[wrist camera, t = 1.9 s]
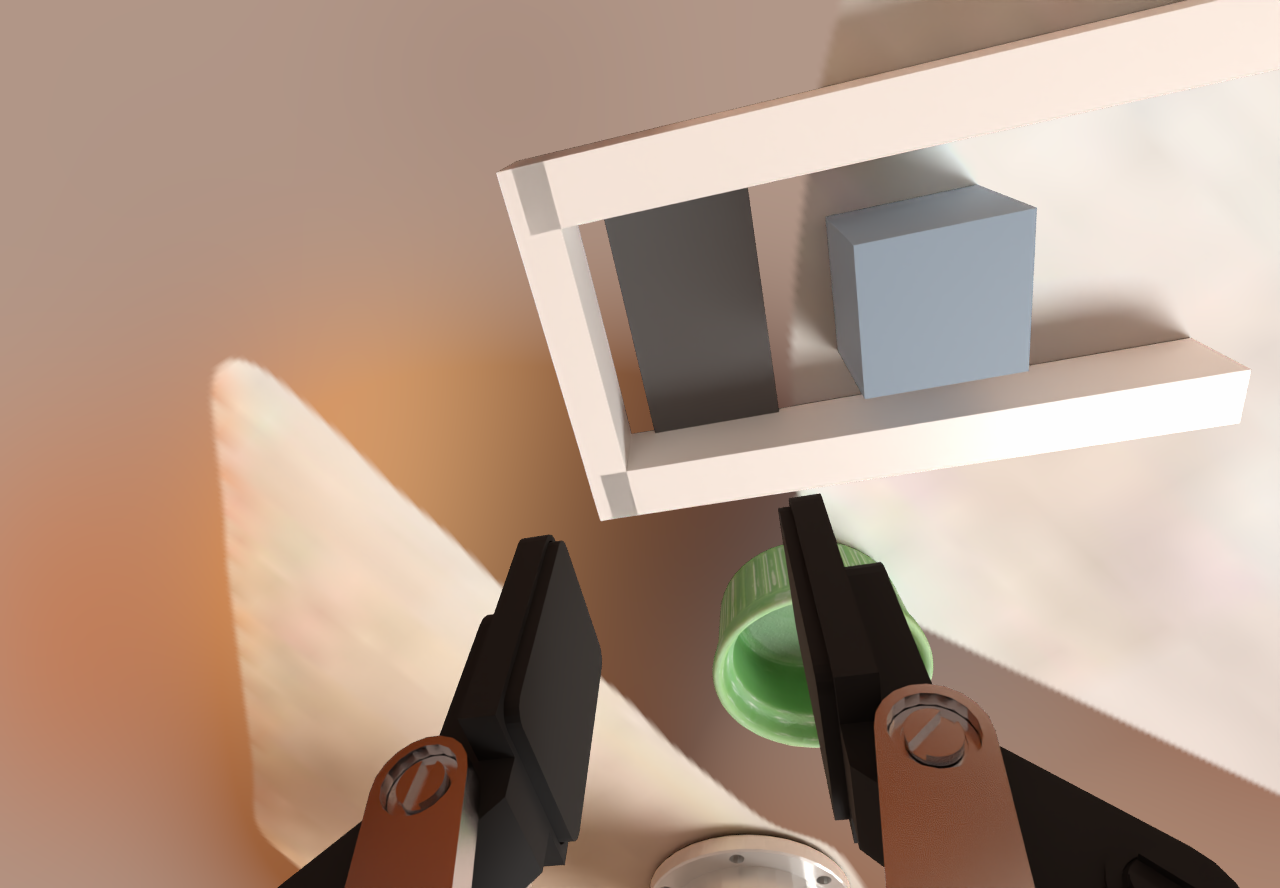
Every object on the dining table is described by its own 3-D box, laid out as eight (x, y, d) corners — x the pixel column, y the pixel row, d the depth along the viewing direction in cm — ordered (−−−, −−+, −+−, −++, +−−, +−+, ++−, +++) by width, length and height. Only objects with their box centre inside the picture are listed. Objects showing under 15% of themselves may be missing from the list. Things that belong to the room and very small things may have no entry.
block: (974, 324, 25) (1028, 371, 21) (837, 349, 26) (864, 399, 22) (976, 183, 23) (1036, 207, 19) (825, 216, 24) (853, 245, 20)
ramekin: (740, 508, 30) (748, 573, 26) (936, 550, 30) (973, 620, 26) (688, 653, 34) (689, 727, 30) (861, 687, 35) (884, 765, 31)
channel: (1183, 387, 26) (1239, 423, 23) (608, 480, 29) (600, 520, 27) (1249, -16, 20) (1336, -28, 17) (516, 161, 23) (495, 172, 21)
